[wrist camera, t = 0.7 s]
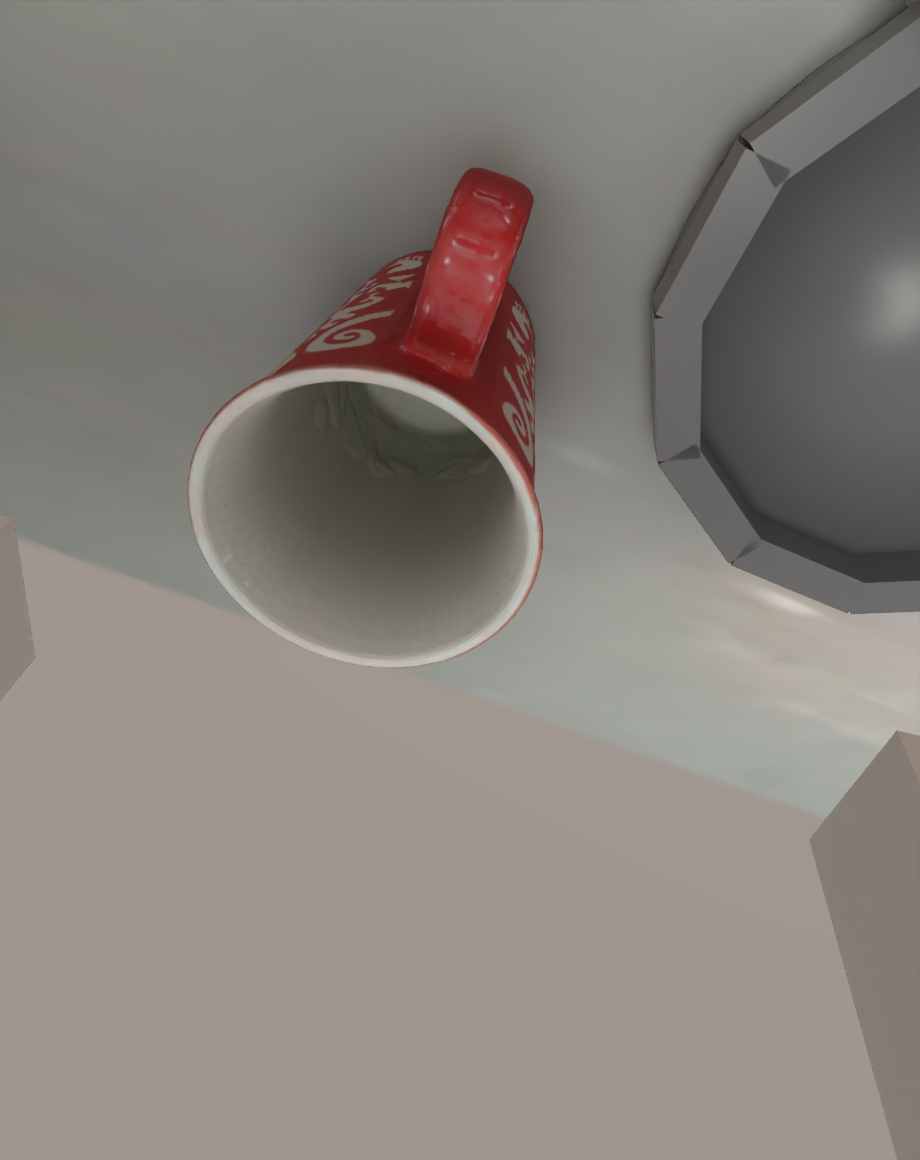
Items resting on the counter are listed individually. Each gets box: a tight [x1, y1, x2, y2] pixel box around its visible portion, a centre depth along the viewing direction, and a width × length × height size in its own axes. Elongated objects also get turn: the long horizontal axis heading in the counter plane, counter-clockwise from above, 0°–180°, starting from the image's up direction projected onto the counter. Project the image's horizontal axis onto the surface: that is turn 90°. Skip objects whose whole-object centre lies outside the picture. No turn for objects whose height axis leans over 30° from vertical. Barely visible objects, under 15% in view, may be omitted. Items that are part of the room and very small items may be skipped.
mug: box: [188, 168, 543, 668], centre depth 24 cm, size 13×9×14 cm
